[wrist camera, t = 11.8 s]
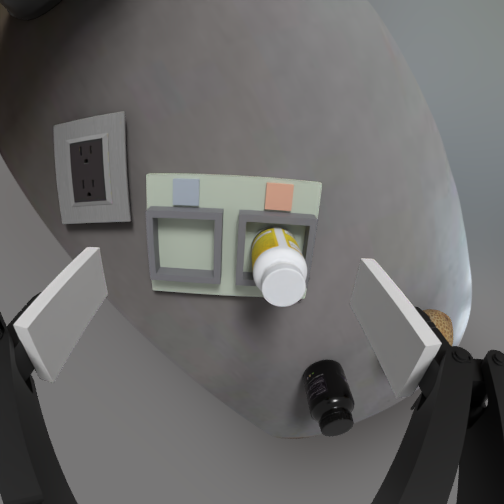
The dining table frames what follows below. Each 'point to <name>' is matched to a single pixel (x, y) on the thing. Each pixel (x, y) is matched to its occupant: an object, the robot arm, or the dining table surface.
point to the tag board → (221, 228)
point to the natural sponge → (441, 323)
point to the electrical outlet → (92, 169)
